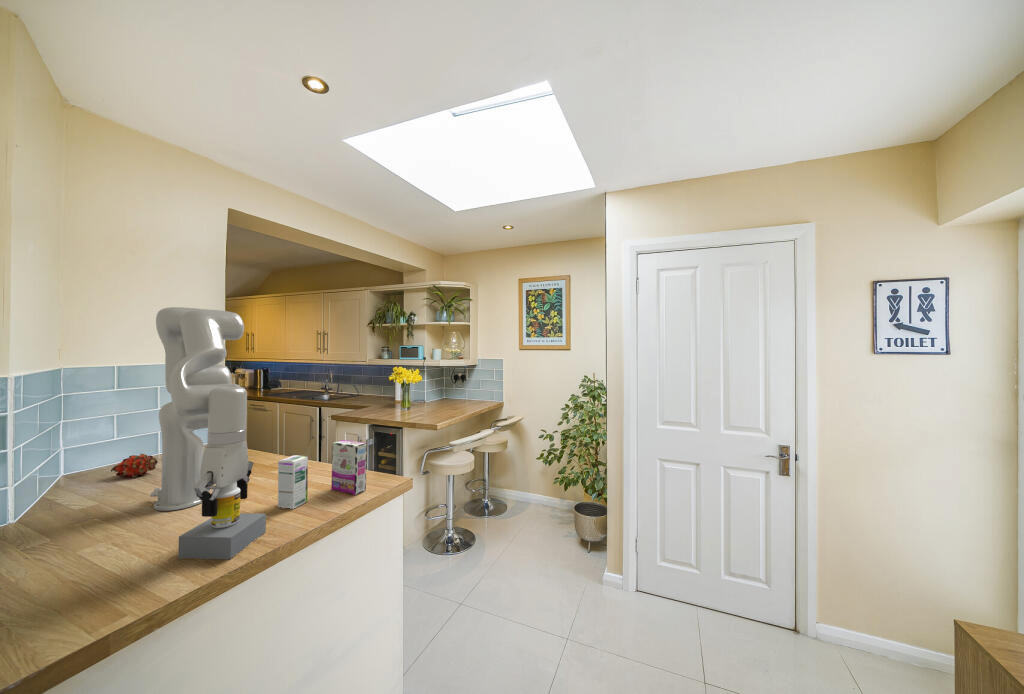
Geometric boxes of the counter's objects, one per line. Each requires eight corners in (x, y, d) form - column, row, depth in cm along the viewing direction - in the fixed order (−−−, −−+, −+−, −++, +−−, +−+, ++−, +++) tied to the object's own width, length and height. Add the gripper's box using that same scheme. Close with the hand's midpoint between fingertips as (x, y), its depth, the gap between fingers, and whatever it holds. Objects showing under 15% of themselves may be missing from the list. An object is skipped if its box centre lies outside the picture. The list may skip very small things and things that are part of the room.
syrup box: (293, 509, 110) (294, 461, 110) (276, 507, 111) (277, 459, 111) (307, 502, 115) (308, 456, 115) (291, 500, 116) (292, 454, 116)
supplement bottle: (237, 526, 89) (238, 484, 89) (208, 531, 87) (209, 488, 87) (242, 516, 94) (243, 477, 94) (215, 520, 92) (215, 480, 92)
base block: (178, 558, 84) (178, 536, 84) (219, 531, 96) (220, 512, 96) (230, 559, 84) (231, 537, 84) (265, 532, 96) (266, 513, 96)
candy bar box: (366, 490, 125) (367, 442, 125) (355, 496, 121) (356, 446, 121) (342, 485, 130) (343, 439, 130) (330, 490, 125) (331, 442, 125)
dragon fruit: (160, 476, 138) (114, 489, 130) (159, 459, 142) (114, 470, 134) (156, 462, 133) (108, 474, 125) (155, 445, 138) (108, 455, 130)
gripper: (238, 429, 99) (236, 492, 99) (180, 446, 81) (178, 523, 81) (266, 429, 99) (264, 493, 99) (214, 447, 81) (212, 524, 81)
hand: (225, 506), depth 90 cm, fingers open, 9 cm apart
